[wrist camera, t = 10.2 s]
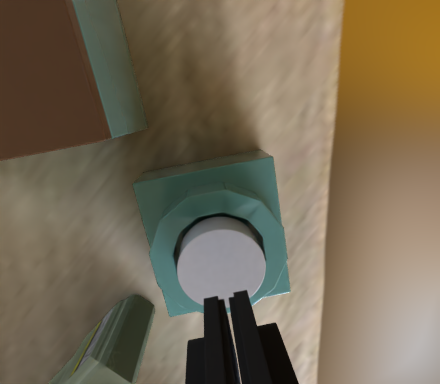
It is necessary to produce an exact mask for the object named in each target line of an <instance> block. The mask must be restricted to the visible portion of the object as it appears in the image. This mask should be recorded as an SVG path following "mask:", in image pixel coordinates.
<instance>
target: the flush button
mask: <svg viewBox="0 0 440 384" xmlns="http://www.w3.org/2000/svg"><path fill="white" fill-rule="evenodd" d="M265 271H266V262H265V257H264V254H263V252H262V250H261V247H260V245H259V243H258V241H257V239H256V237H255V235H254V233H253V232H252V231H251V229H250V228H249V227H248V226H247V225H245V224H244V223H242V222H240V221H239V220H236V219H234V218H230V217H211V218H208V219H205V220H202V221H200V222H199V223H197V224H195V225H194V226H193V227H192V228H191V229H190V230H189V231H188V232H187V233H186V234H185V236H184V238H183V240H182V242H181V245H180V250H179V257H178V264H177V276H178V280H179V283H180V285H181V287H182V289H183V291H184V292H185V293H186V294H187V295H188V296H189V297H190V298H191V299H192V300H193V301H195V302H197V303H199V304H201V305H203V306H204V298H209V297H214V296H218V298H219V299H224V301H225V306H226V308H228V307H230V305H229V299H228V298H229V297H234V294H233V292H238V291H243V290H247V291H248V295H249V298H250V297H251V296H253V295H254V294H255V293H256V291H257V290H258V289H259V287H260V286H261V284H262V282H263V279H264V276H265Z"/></svg>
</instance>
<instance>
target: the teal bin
mask: <svg viewBox="0 0 440 384" xmlns="http://www.w3.org/2000/svg"><path fill="white" fill-rule="evenodd" d="M72 2H73V6H74V9H75V13H76V16H77V20H78V23H79V26H80V30H81V33H82V37H83V40H84V44H85V47H86V50H87V54H88V57H89V61H90V64H91V68H92V71H93V74H94V78H95V81H96V85H97V88H98V92H99V95H100V98H101V102H102V105H103V109H104V112H105V116H106V119H107V122H108V126H109V129H110V133H111V136H112V138H111V139H113V138H116V137H120V136H123V135H127V134H130V133H133V132H137V131H140V130H144V129H147V128H148V123H147V119H146V115H145V111H144V107H143V103H142V99H141V95H140V91H139V87H138V83H137V79H136V75H135V71H134V67H133V63H132V59H131V55H130V51H129V47H128V43H127V39H126V35H125V31H124V27H123V23H122V19H121V15H120V11H119V7H118V3H117V0H72Z"/></svg>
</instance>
